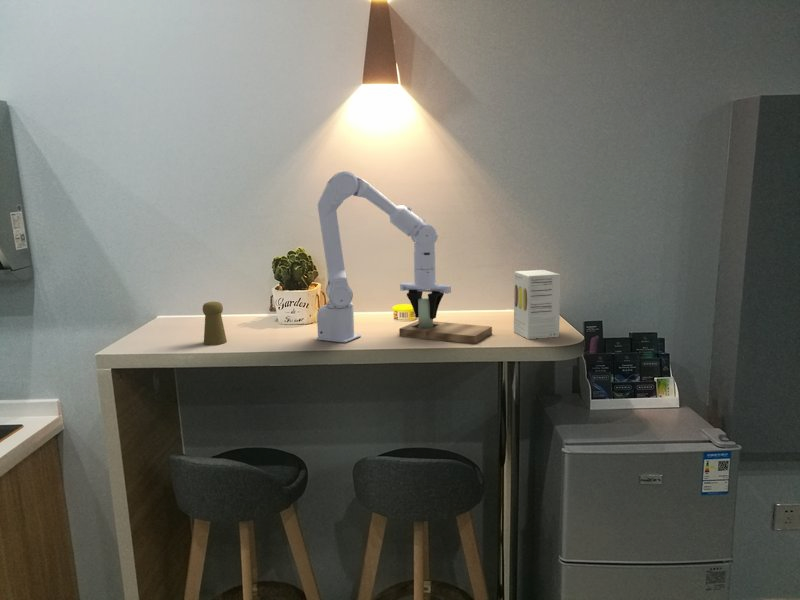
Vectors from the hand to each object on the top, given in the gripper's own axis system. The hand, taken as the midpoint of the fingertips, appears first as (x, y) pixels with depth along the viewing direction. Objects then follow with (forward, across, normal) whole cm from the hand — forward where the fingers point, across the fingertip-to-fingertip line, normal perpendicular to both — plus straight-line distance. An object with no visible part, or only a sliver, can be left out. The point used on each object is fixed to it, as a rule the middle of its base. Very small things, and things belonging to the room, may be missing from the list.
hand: (425, 317), depth 176 cm
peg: (+3, 0, 0) cm, 3 cm away
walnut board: (+4, -6, 0) cm, 7 cm away
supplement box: (+5, -28, -10) cm, 30 cm away
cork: (+4, +47, +32) cm, 57 cm away
